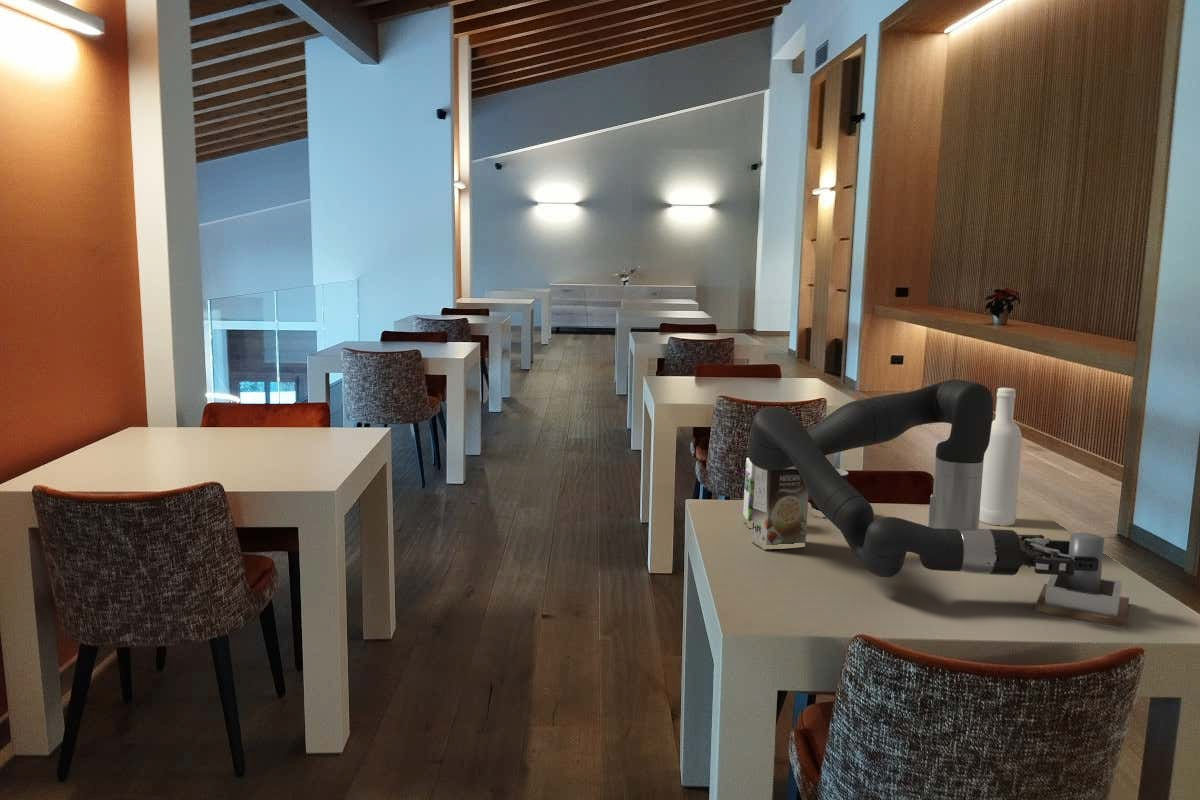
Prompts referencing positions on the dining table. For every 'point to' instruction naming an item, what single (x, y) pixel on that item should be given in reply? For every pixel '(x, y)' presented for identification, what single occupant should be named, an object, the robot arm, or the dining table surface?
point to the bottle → (1001, 464)
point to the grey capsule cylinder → (1092, 548)
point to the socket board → (1082, 615)
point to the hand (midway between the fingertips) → (1086, 555)
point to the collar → (1084, 596)
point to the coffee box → (779, 507)
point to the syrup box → (749, 490)
